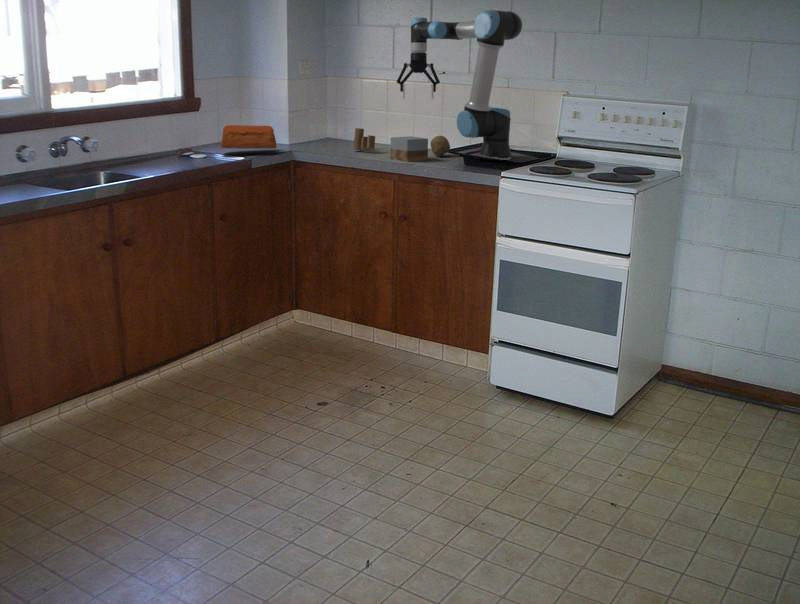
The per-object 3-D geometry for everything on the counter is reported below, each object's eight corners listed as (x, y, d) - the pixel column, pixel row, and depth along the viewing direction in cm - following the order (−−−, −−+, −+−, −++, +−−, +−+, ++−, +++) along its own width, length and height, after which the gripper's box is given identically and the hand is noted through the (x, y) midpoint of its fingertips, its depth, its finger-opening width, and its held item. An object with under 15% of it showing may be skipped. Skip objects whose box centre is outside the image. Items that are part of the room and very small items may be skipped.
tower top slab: (427, 149, 397) (428, 138, 395) (407, 151, 389) (407, 139, 388) (410, 147, 406) (411, 136, 404) (390, 148, 398) (390, 137, 397)
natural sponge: (445, 155, 416) (446, 134, 413) (452, 158, 408) (453, 136, 405) (427, 156, 413) (428, 134, 411) (434, 158, 405) (434, 136, 403)
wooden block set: (377, 152, 423) (379, 131, 421) (360, 151, 420) (362, 129, 418) (365, 149, 440) (367, 128, 437) (349, 148, 436) (351, 127, 434)
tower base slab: (427, 161, 398) (427, 149, 397) (407, 162, 391) (407, 151, 389) (410, 158, 407) (410, 147, 406) (390, 159, 400) (390, 148, 398)
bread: (221, 145, 437) (221, 123, 434) (275, 146, 442) (275, 124, 439) (220, 149, 423) (220, 126, 420) (276, 149, 427) (276, 127, 424)
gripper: (443, 52, 414) (442, 98, 420) (391, 52, 412) (390, 98, 417) (446, 52, 407) (445, 99, 413) (392, 51, 405) (392, 99, 410)
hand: (417, 99), depth 415 cm, fingers open, 13 cm apart
